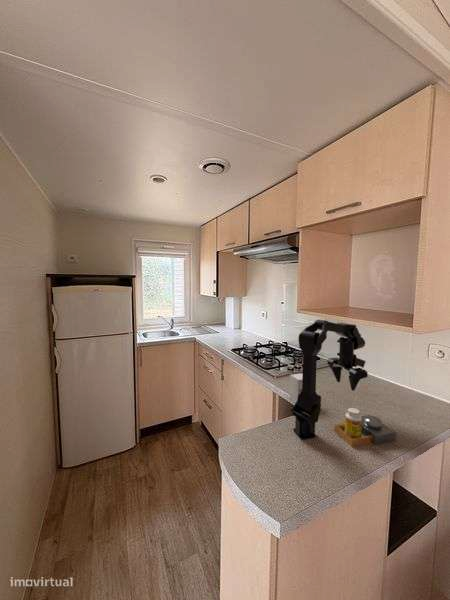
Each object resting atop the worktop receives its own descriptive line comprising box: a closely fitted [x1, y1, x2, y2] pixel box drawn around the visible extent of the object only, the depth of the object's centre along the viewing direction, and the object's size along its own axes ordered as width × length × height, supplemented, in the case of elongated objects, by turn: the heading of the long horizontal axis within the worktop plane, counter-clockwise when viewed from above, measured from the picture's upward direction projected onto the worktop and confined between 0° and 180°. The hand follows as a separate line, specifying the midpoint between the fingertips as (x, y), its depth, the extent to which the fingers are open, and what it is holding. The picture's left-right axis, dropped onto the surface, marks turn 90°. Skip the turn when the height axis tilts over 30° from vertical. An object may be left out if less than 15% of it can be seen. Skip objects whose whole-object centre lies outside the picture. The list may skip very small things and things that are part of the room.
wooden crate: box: [333, 414, 397, 447], centre depth 94 cm, size 18×12×6 cm
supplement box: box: [289, 372, 303, 405], centre depth 121 cm, size 7×7×13 cm
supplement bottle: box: [344, 407, 362, 438], centre depth 93 cm, size 6×6×10 cm
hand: (345, 386), depth 110 cm, fingers open, 9 cm apart
